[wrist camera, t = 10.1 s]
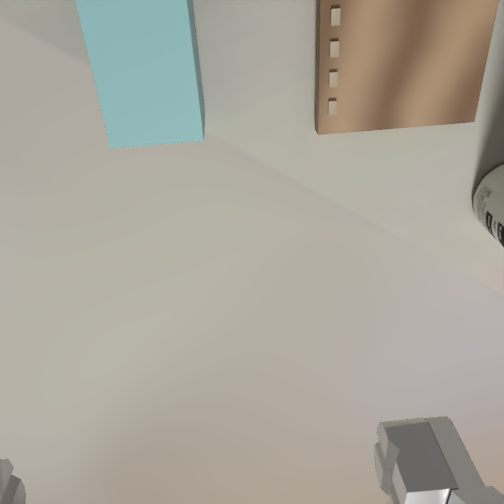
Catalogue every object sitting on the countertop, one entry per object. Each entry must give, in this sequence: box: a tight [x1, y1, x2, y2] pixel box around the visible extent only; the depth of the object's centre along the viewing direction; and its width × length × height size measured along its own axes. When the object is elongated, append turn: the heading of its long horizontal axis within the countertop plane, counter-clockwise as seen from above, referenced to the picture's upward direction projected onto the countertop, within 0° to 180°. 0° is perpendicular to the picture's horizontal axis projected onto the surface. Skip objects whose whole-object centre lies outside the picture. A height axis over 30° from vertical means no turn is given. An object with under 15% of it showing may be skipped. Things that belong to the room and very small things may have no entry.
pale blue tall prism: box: [75, 0, 205, 149], centre depth 29 cm, size 6×12×6 cm, turn 3°
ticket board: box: [315, 0, 499, 135], centre depth 32 cm, size 12×16×1 cm
